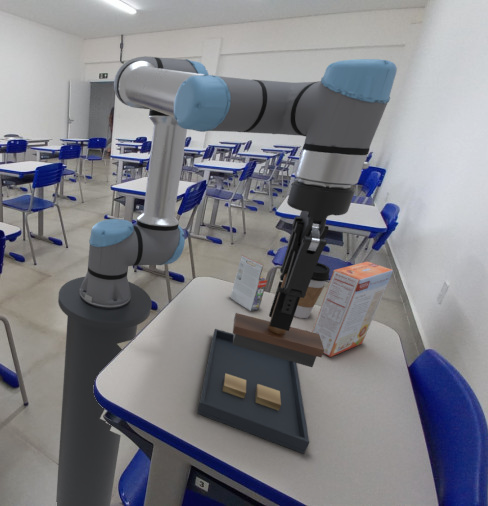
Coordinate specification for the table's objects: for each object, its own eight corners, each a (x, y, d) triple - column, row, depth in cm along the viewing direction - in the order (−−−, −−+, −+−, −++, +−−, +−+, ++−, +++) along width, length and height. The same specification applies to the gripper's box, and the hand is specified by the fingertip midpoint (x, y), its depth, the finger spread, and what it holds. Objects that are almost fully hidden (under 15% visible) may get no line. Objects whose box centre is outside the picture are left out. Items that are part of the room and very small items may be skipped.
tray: (212, 337, 89) (214, 328, 88) (290, 360, 82) (294, 351, 81) (197, 413, 66) (200, 402, 65) (304, 454, 59) (309, 442, 58)
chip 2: (255, 389, 71) (257, 383, 71) (277, 396, 70) (279, 391, 69) (255, 402, 68) (257, 396, 68) (278, 410, 67) (281, 404, 66)
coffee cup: (321, 319, 100) (339, 271, 94) (297, 322, 98) (314, 273, 92) (296, 303, 107) (312, 258, 101) (273, 306, 105) (288, 260, 99)
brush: (230, 331, 66) (249, 262, 61) (312, 353, 61) (339, 280, 56) (229, 345, 62) (248, 273, 57) (316, 370, 57) (346, 293, 51)
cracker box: (337, 331, 94) (366, 260, 86) (362, 344, 89) (396, 270, 81) (304, 343, 88) (333, 267, 80) (330, 358, 83) (362, 279, 75)
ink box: (238, 296, 110) (250, 253, 104) (259, 309, 103) (273, 264, 97) (229, 298, 108) (240, 254, 103) (250, 311, 101) (263, 265, 96)
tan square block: (223, 378, 74) (225, 373, 73) (244, 385, 72) (246, 380, 72) (222, 391, 71) (223, 385, 70) (244, 398, 69) (245, 392, 68)
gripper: (371, 196, 42) (311, 355, 51) (343, 178, 56) (299, 307, 64) (299, 188, 45) (254, 340, 54) (289, 172, 59) (253, 297, 67)
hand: (278, 322), depth 59 cm, fingers closed on brush, 3 cm apart
